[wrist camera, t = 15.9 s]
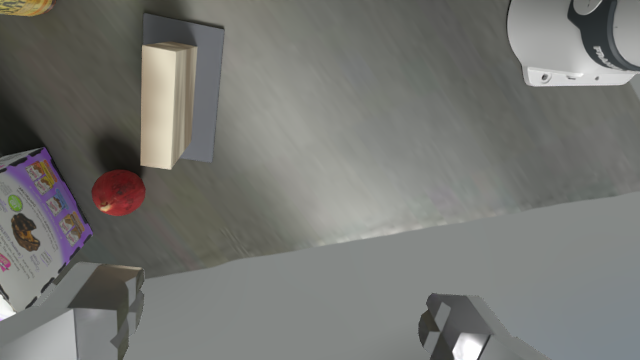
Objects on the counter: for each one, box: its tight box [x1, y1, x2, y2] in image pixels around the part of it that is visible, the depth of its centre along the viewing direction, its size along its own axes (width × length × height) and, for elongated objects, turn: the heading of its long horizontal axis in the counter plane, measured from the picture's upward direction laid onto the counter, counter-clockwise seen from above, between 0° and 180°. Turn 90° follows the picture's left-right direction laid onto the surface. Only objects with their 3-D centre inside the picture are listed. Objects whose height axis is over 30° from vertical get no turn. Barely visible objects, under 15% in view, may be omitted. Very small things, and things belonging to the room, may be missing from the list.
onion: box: [92, 169, 146, 216], centre depth 45 cm, size 6×6×8 cm
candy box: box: [0, 147, 93, 321], centre depth 41 cm, size 14×6×16 cm, turn 11°
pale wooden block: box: [141, 42, 197, 169], centre depth 40 cm, size 3×12×10 cm, turn 169°
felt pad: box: [143, 13, 225, 163], centre depth 45 cm, size 9×17×1 cm, turn 169°
